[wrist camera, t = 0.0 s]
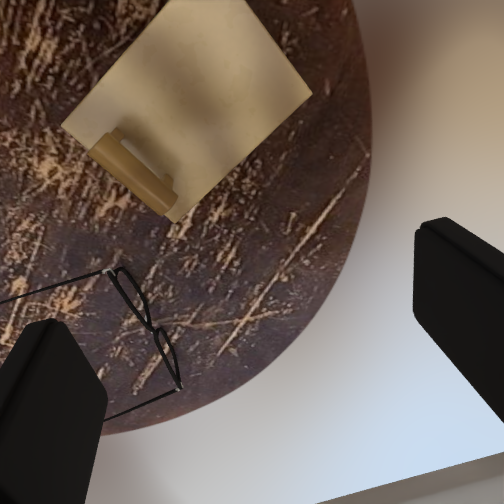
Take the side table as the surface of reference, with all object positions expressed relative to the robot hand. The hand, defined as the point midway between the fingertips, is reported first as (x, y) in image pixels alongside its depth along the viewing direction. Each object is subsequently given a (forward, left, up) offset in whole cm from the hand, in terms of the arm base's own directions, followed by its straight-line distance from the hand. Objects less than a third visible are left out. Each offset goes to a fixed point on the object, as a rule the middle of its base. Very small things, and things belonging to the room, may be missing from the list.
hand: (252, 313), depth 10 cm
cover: (-3, -1, -18) cm, 18 cm away
